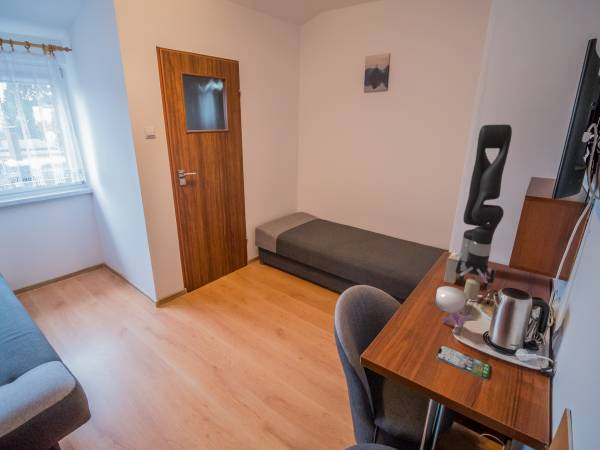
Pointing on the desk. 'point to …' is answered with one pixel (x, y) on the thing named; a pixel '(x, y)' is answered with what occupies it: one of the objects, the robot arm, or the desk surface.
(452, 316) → the lily
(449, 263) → the supplement box
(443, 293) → the glossy white dome
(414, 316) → the desk surface
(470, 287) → the candle
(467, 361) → the smartphone
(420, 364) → the desk surface
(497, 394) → the desk surface
